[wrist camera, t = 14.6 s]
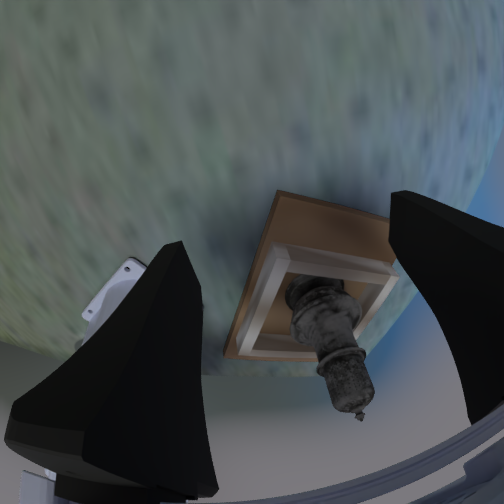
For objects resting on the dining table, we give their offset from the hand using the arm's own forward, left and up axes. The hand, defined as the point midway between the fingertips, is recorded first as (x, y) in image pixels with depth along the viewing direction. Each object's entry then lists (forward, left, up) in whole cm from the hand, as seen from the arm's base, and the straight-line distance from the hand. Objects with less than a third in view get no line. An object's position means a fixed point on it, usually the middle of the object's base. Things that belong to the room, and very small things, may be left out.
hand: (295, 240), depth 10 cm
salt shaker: (-4, -12, -10) cm, 16 cm away
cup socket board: (-5, -13, -10) cm, 17 cm away
